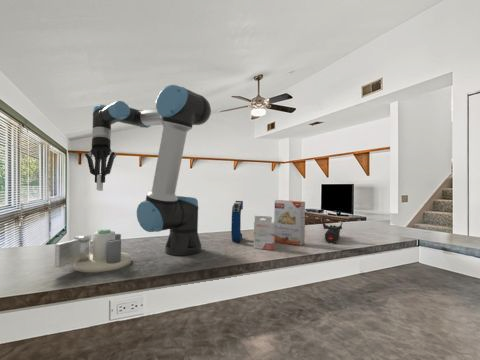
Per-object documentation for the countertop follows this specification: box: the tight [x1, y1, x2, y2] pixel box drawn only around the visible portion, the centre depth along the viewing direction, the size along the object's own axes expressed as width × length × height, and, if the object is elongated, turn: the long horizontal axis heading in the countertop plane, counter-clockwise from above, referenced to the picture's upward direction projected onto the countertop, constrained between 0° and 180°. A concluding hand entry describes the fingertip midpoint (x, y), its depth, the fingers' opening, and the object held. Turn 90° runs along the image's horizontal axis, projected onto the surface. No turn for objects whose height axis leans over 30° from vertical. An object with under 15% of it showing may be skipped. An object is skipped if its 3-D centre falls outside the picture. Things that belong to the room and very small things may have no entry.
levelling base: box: [73, 229, 132, 273], centre depth 96 cm, size 18×18×12 cm
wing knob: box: [54, 234, 93, 268], centre depth 90 cm, size 13×5×8 cm, turn 167°
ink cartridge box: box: [253, 215, 275, 251], centre depth 123 cm, size 9×5×15 cm, turn 68°
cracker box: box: [273, 199, 306, 247], centre depth 134 cm, size 14×6×21 cm, turn 55°
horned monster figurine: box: [321, 220, 343, 244], centre depth 144 cm, size 10×22×10 cm, turn 156°
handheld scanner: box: [230, 200, 244, 243], centre depth 139 cm, size 5×16×20 cm, turn 174°
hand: (99, 190), depth 118 cm, fingers closed
